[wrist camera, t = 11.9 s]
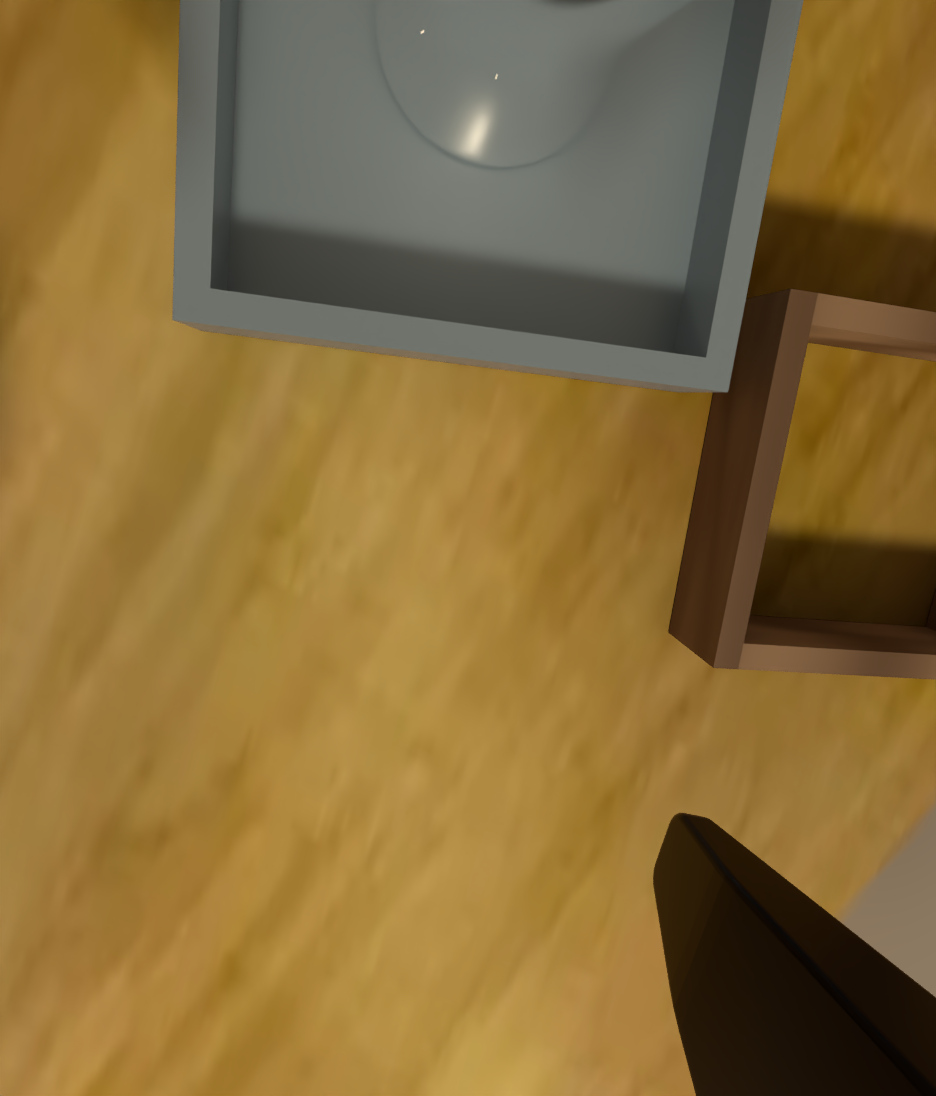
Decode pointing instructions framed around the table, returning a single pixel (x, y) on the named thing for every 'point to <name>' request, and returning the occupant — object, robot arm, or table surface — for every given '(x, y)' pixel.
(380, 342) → the tray
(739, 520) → the rectangular frame
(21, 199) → the table surface
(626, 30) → the silver metal cup
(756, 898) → the robot arm
